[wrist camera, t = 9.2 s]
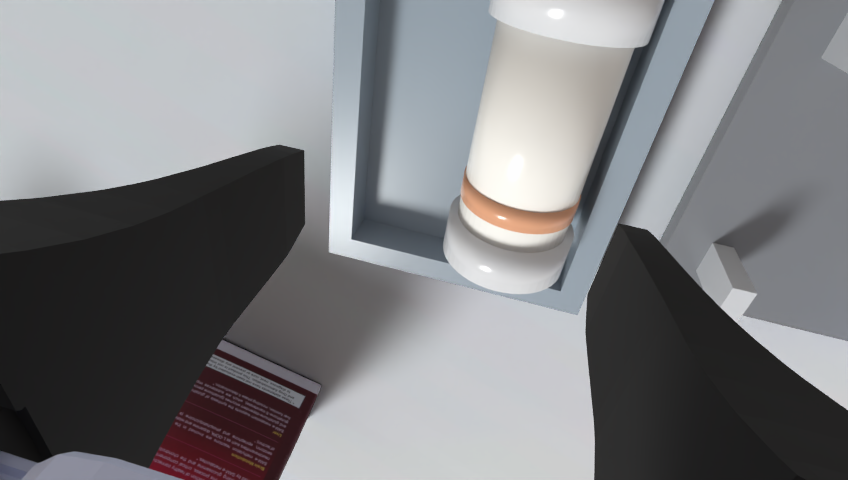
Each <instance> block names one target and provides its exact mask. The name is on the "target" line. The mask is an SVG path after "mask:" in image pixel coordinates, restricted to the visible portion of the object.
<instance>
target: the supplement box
mask: <svg viewBox="0 0 848 480" xmlns="http://www.w3.org/2000/svg"><path fill="white" fill-rule="evenodd" d="M320 389H321V385H320V384H318V383H316V382H313V381H311V380H309V379H307V378H305V377H302V376H300V375H298V374H296V373H294V372H291V371H289V370H287V369H285V368H283V367H281V366H279V365H276V364H274V363H272V362H270V361H268V360H265V359H263V358H261V357H259V356H257V355H255V354H252V353H250V352H248V351H246V350H244V349H242V348H239V347H237V346H235V345H233V344H231V343H229V342H226V341H224V340H222V341H221V342H220V344H219V346H218V347H217V349H216V350H215V352H214V354H213V355H212V357H211V358H210V360H209V362H208V363H207V365H206V366H205V368H204V370H203V371H202V373H201V375H200V376H199V378H198V380H197V381H196V383H195V385H194V387H193V388H192V390H191V392H190V393H189V395H188V397H187V399H186V400H185V402H184V404H183V405H182V407H181V409H180V411H179V412H178V414H177V416H176V418H175V420H174V422H173V424H172V425H171V427H170V429H169V431H168V433H167V435H166V436H165V438H164V440H163V442H162V444H161V446H160V447H159V449H158V451H157V453H156V455H155V457H154V459H153V461H152V463H151V465H150V467H149V469H152V470H155V471H158V472H161V473H164V474H167V475H171V476H174V477H177V478H180V479H183V480H279V478H280V476H281V474H282V472H283V470H284V468H285V466H286V464H287V461H288V459H289V457H290V455H291V453H292V451H293V449H294V446H295V444H296V442H297V440H298V438H299V436H300V433H301V431H302V429H303V427H304V425H305V422H306V420H307V418H308V416H309V414H310V411H311V409H312V407H313V405H314V402H315V400H316V398H317V396H318V393H319V391H320Z"/></svg>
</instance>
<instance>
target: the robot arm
mask: <svg viewBox="0 0 848 480" xmlns="http://www.w3.org/2000/svg"><path fill="white" fill-rule="evenodd" d="M304 224H305V186H304V150H300V149H295V148H291V147H287V146H282V145H276V146H270V147H266V148H262V149H259V150H255V151H252V152H248V153H245V154H242V155H238V156H235V157H232V158H229V159H226V160H222V161H219V162H216V163H213V164H209V165H206V166H203V167H199V168H196V169H192V170H188V171H185V172H181V173H177V174H173V175H170V176H166V177H162V178H159V179H154V180H150V181H146V182H141V183H137V184H132V185H126V186H121V187H116V188H110V189H105V190H98V191H92V192H84V193H76V194H67V195H59V196H51V197H43V198H33V199H19V200H6V201H0V480H183V479H180V478H177V477H174V476H171V475H167V474H164V473H161V472H158V471H155V470H152V469H149V467H150V465H151V463H152V461H153V459H154V457H155V455H156V453H157V451H158V449H159V447H160V446H161V444H162V442H163V440H164V438H165V436H166V435H167V433H168V431H169V429H170V427H171V425H172V424H173V422H174V420H175V418H176V416H177V414H178V412H179V411H180V409H181V407H182V405H183V404H184V402H185V400H186V399H187V397H188V395H189V393H190V392H191V390H192V388H193V387H194V385H195V383H196V381H197V380H198V378H199V376H200V375H201V373H202V371H203V370H204V368H205V366H206V365H207V363H208V362H209V360H210V358H211V357H212V355H213V354H214V352H215V350H216V349H217V347H218V346H219V344H220V342H221V341H222V339H223V338H224V336H225V335H226V333H227V332H228V331H229V329H230V328H231V326H232V325H233V324H234V322H235V321H236V320H237V318H238V317H239V316H240V315H241V313H242V312H243V311H244V310H245V308H246V307H247V306H248V305H249V303H250V302H251V301H252V300H253V298H254V297H255V296H256V295H257V293H258V292H259V291H260V290H261V288H262V287H263V286H264V285H265V283H266V282H267V281H268V280H269V278H270V277H271V276H272V274H273V273H274V272H275V271H276V269H277V268H278V267H279V265H280V264H281V263H282V262H283V260H284V259H285V258H286V256H287V255H288V253H289V251H290V250H291V248H292V246H293V245H294V243H295V241H296V239H297V237H298V236H299V234H300V232H301V230H302V228H303V226H304ZM586 344H587V355H588V366H589V376H590V386H591V396H592V406H593V416H594V431H595V474H594V480H848V410H846V409H845V408H844V407H842V406H841V405H839V404H838V403H836V402H835V401H834V400H832V399H831V398H830V397H828V396H827V395H825V394H824V393H823V392H821V391H820V390H818V389H817V388H816V387H814V386H813V385H811V384H810V383H809V382H807V381H806V380H804V379H803V378H802V377H801V376H799V375H798V374H797V373H795V372H794V371H793V370H791V369H790V368H789V367H787V366H786V365H785V364H784V363H782V362H781V361H780V360H779V359H778V358H776V357H775V356H774V355H773V354H772V353H770V352H769V351H768V350H767V349H766V348H764V347H763V346H762V345H761V344H760V343H758V342H757V341H756V340H755V339H754V338H753V337H751V336H750V335H749V334H748V333H747V332H746V331H745V330H744V329H742V328H741V327H740V326H739V325H738V324H737V323H736V322H735V321H734V320H733V319H732V318H731V317H730V316H729V315H728V314H727V313H726V312H725V311H724V310H723V309H722V308H721V307H720V306H719V305H717V304H716V302H715V301H714V300H713V299H712V298H711V297H710V296H709V295H708V294H707V293H706V292H705V291H704V290H703V289H702V288H701V287H700V286H699V285H698V284H697V283H696V282H695V280H694V279H693V278H692V277H691V276H690V275H689V274H688V273H687V272H686V271H685V270H684V268H683V267H682V266H681V265H680V264H679V263H678V262H677V261H676V259H675V258H674V257H673V256H672V255H671V254H670V253H669V252H668V251H667V249H666V248H665V247H664V246H663V245H662V244H661V243H660V242H659V241H658V240H657V239H656V238H655V237H654V236H653V235H652V234H651V233H650V232H649V231H648V230H645V229H641V228H636V227H632V226H628V225H623V224H618V226H617V228H616V231H615V233H614V235H613V238H612V240H611V242H610V244H609V247H608V249H607V251H606V254H605V256H604V258H603V260H602V263H601V265H600V267H599V270H598V272H597V274H596V276H595V279H594V281H593V283H592V286H591V288H590V290H589V292H588V297H587V312H586Z"/></svg>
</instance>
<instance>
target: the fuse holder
mask: <svg viewBox="0 0 848 480" xmlns="http://www.w3.org/2000/svg"><path fill="white" fill-rule="evenodd" d="M660 243H661V244H662V245H663V246H664V247H665V248H666V249H667V251H668V252H669V253H670V254H671V255H672V256H673V257H674V258H675V259H676V261H677V262H678V263H679V264H680V265H681V266H682V267H683V268H684V270H685V271H686V272H687V273H688V274H689V275H690V276H691V277H692V278H693V279H694V280H695V282H696V283H697V284H698V285H699V286H700V287H701V288H702V289H703V290H704V291H705V292H706V293H707V294H708V295H709V296H710V297H711V298H712V299H713V300H714V301H715V302H716V304H717V305H719V306H720V307H721V308H722V309H723V310H724V311H725V312H726V313H727V314H728V315H729V316H730V317H731V318H732V319H733V320H734V321H735V322H736V323H737V322H738V321H739V319H740V318H741V316H742V315H743V316H747V317H751V318H755V319H759V320H764V321H768V322H772V323H776V324H780V325H784V326H788V327H792V328H796V329H800V330H804V331H809V332H813V333H817V334H821V335H825V336H829V337H833V338H837V339H841V340H845V341H848V0H782V2H781V4H780V6H779V8H778V10H777V12H776V14H775V16H774V18H773V20H772V22H771V24H770V26H769V28H768V30H767V32H766V34H765V36H764V38H763V40H762V42H761V44H760V45H759V47H758V49H757V51H756V53H755V55H754V57H753V59H752V61H751V63H750V65H749V67H748V69H747V71H746V73H745V75H744V77H743V79H742V81H741V83H740V85H739V87H738V89H737V91H736V93H735V95H734V97H733V99H732V101H731V102H730V104H729V106H728V108H727V110H726V112H725V114H724V116H723V118H722V120H721V122H720V124H719V126H718V128H717V130H716V132H715V134H714V136H713V138H712V140H711V142H710V144H709V146H708V148H707V150H706V152H705V154H704V156H703V158H702V159H701V161H700V163H699V165H698V167H697V169H696V171H695V173H694V175H693V177H692V179H691V181H690V183H689V185H688V187H687V189H686V191H685V193H684V195H683V197H682V199H681V201H680V203H679V205H678V207H677V209H676V211H675V213H674V215H673V216H672V218H671V220H670V222H669V224H668V226H667V228H666V230H665V232H664V234H663V236H662V238H661V240H660Z"/></svg>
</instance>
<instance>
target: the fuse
mask: <svg viewBox="0 0 848 480" xmlns="http://www.w3.org/2000/svg"><path fill="white" fill-rule="evenodd" d="M664 1H665V0H490V4H489V10H488V11H489V13H490V15H491V16H493V17H494V18H496V19H497V22H496V27H495V32H494V37H493V42H492V47H491V52H490V56H489V61H488V66H487V71H486V76H485V81H484V86H483V91H482V95H481V100H480V105H479V110H478V115H477V120H476V125H475V130H474V134H473V139H472V144H471V149H470V154H469V159H468V164H467V166H466V168H465V171H464V176H463V181H462V186H461V194H460V195H459V196H457V197H456V198H455V199H454V200H453V202H452V204H451V207H450V211H449V216H448V221H447V227H446V232H445V237H444V242H443V250H444V254H445V257H446V259H447V260H448V262H449V263H450V265H451V266H452V267H453V268H454V269H455V270H456V271H457V272H458V273H459V274H461V275H462V276H463V277H465V278H466V279H468V280H469V281H471V282H473V283H475V284H477V285H479V286H482V287H484V288H487V289H490V290H493V291H497V292H502V293H509V294H530V293H536V292H539V291H542V290H545V289H547V288H549V287H550V286H552V285H553V284H554V283H555V282H556V281H557V280H558V278H559V276H560V273H561V271H562V268H563V266H564V263H565V260H566V258H567V255H568V252H569V250H570V247H571V245H572V242H573V239H574V230H573V227H572V225H571V223H572V221H573V219H574V216H575V213H576V210H577V208H578V205H579V202H580V200H581V193H582V190H583V187H584V184H585V182H586V179H587V176H588V174H589V171H590V168H591V165H592V163H593V160H594V157H595V155H596V152H597V149H598V146H599V144H600V141H601V138H602V136H603V133H604V130H605V127H606V125H607V122H608V119H609V117H610V114H611V111H612V108H613V106H614V103H615V100H616V98H617V95H618V92H619V89H620V87H621V84H622V81H623V79H624V76H625V73H626V70H627V68H628V65H629V62H630V60H631V57H632V54H633V51H634V49H635V48H637V47H642V46H645V45H647V44H648V43H649V40H650V38H651V35H652V33H653V30H654V27H655V25H656V22H657V19H658V17H659V14H660V12H661V9H662V6H663V4H664Z"/></svg>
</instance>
